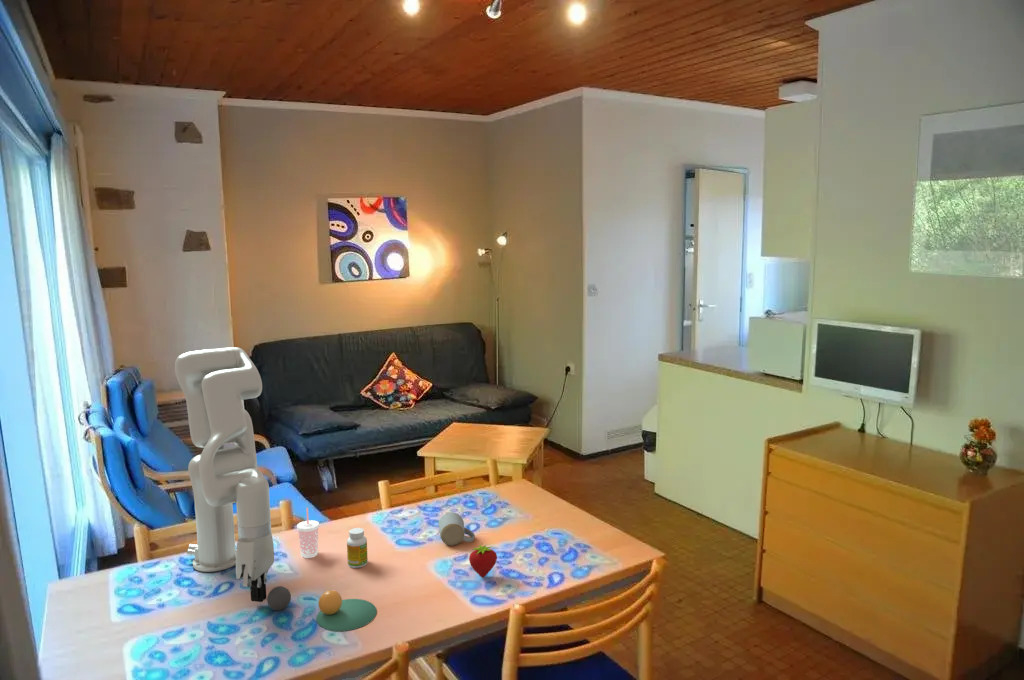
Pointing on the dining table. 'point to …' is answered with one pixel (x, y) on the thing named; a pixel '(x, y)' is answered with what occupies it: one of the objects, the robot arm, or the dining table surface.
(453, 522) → the ceramic mug
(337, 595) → the orange ball
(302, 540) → the beverage cup
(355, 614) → the green ellipsoid
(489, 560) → the strawberry
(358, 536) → the supplement bottle
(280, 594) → the charcoal cue ball
